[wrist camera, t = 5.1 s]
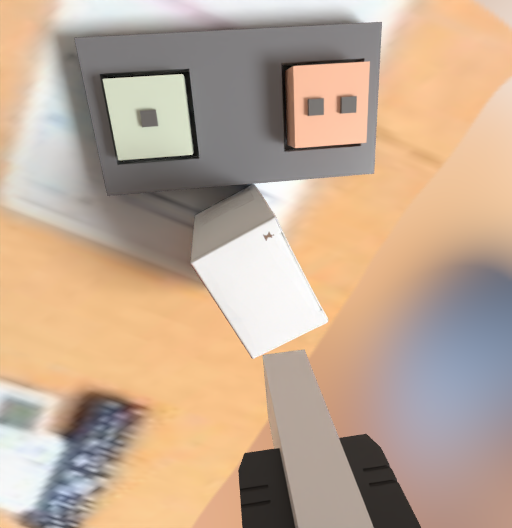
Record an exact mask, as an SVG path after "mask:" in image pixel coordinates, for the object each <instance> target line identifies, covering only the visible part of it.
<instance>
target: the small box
mask: <svg viewBox="0 0 512 528" xmlns="http://www.w3.org/2000/svg"><path fill="white" fill-rule="evenodd" d="M190 264H191V265H192V267H193V268H194V270H195V272H196V273H197V275H198V276H199V278H200V279H201V281H202V282H203V284H204V285H205V287H206V288H207V290H208V291H209V293H210V294H211V296H212V298H213V299H214V301H215V302H216V304H217V305H218V307H219V308H220V310H221V311H222V313H223V314H224V316H225V318H226V319H227V321H228V322H229V324H230V325H231V327H232V328H233V330H234V331H235V333H236V335H237V336H238V338H239V339H240V341H241V342H242V344H243V345H244V347H245V348H246V350H247V351H248V353H249V354H250V356H251V358H252V359H254V358H256V357H258V356H260V355H262V354H264V353H266V352H268V351H270V350H272V349H274V348H276V347H278V346H280V345H282V344H285V343H287V342H289V341H291V340H293V339H295V338H297V337H299V336H301V335H303V334H305V333H307V332H309V331H311V330H313V329H315V328H317V327H319V326H321V325H323V324H325V323H327V322H328V317H327V316H326V314H325V312H324V310H323V309H322V307H321V305H320V303H319V301H318V299H317V298H316V296H315V294H314V292H313V290H312V288H311V286H310V284H309V282H308V280H307V278H306V276H305V274H304V273H303V271H302V269H301V267H300V265H299V263H298V261H297V259H296V257H295V255H294V253H293V251H292V249H291V247H290V245H289V243H288V241H287V239H286V237H285V235H284V233H283V231H282V228H281V226H280V224H279V222H278V219H277V217H276V216H275V215H274V213H273V212H272V210H271V209H270V207H269V205H268V204H267V202H266V201H265V199H264V197H263V196H262V194H261V193H260V191H259V190H258V189H257V187H256V186H255V185H254V184H252V185H250V186H249V187H247V188H245V189H243V190H241V191H239V192H237V193H236V194H234V195H232V196H230V197H228V198H226V199H224V200H223V201H221V202H219V203H217V204H215V205H213V206H211V207H210V208H208V209H206V210H204V211H202V212H200V213H199V214H197V215H195V220H194V228H193V239H192V249H191V261H190Z"/></svg>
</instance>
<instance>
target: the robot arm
mask: <svg viewBox="0 0 512 528" xmlns="http://www.w3.org/2000/svg"><path fill="white" fill-rule="evenodd" d="M263 365H264V376H265V387H266V398H267V409H268V418H269V423H270V429H271V434H272V439H273V445H274V449H270V450H263V451H256V452H250V453H245V454H244V456H243V459H242V462H241V465H240V467H239V485H240V498H241V512H242V526H243V528H421V526H420V524H419V522H418V520H417V518H416V517H415V514H414V512H413V510H412V509H411V507H410V505H409V503H408V501H407V499H406V497H405V495H404V493H403V491H402V489H401V487H400V485H399V483H398V482H397V479H396V477H395V475H394V473H393V471H392V469H391V468H390V466H389V463H388V461H387V459H386V457H385V455H384V453H383V451H382V449H381V447H380V446H379V445H378V444H377V443H375V442H374V441H373V440H372V439H371V438H370V437H369V436H368V435H367V434H363V435H356V436H350V437H343V438H339V437H338V434H337V432H336V430H335V427H334V424H333V422H332V419H331V417H330V414H329V411H328V409H327V406H326V404H325V401H324V398H323V396H322V394H321V391H320V388H319V386H318V383H317V380H316V378H315V376H314V373H313V370H312V368H311V365H310V362H309V360H308V357H307V355H306V352H305V350H297V351H290V352H282V353H275V354H267V355H263Z"/></svg>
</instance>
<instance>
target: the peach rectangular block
mask: <svg viewBox="0 0 512 528" xmlns="http://www.w3.org/2000/svg"><path fill="white" fill-rule="evenodd" d="M369 71H370V61H369V62H352V63H335V64H319V65H302V66H292V67H291V68H289V69H287V70H285V95H286V127H287V145H289V146H291V147H293V148H305V147H318V146H331V145H344V144H357V143H366V141H367V117H368V94H369Z"/></svg>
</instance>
